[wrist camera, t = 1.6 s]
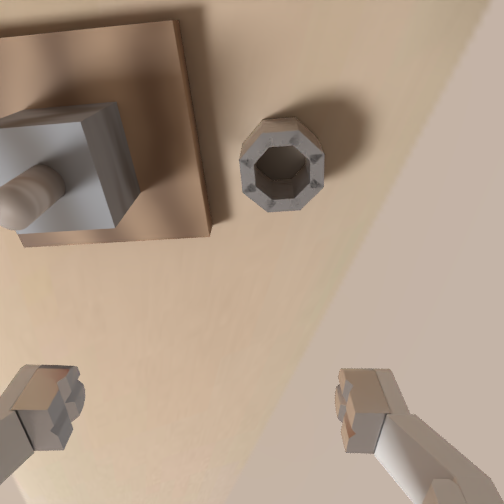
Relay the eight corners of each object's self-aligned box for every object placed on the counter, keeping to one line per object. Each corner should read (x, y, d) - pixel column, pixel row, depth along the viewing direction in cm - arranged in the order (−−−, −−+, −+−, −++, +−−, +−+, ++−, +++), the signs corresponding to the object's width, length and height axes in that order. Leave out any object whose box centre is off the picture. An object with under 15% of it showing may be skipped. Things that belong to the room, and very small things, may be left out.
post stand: (178, 19, 25) (118, 21, 15) (212, 225, 34) (188, 315, 24) (-54, 44, 26) (-253, 60, 16) (35, 236, 35) (-59, 325, 25)
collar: (318, 114, 28) (325, 128, 25) (317, 188, 31) (323, 208, 28) (240, 121, 29) (236, 135, 25) (247, 192, 32) (244, 213, 28)
